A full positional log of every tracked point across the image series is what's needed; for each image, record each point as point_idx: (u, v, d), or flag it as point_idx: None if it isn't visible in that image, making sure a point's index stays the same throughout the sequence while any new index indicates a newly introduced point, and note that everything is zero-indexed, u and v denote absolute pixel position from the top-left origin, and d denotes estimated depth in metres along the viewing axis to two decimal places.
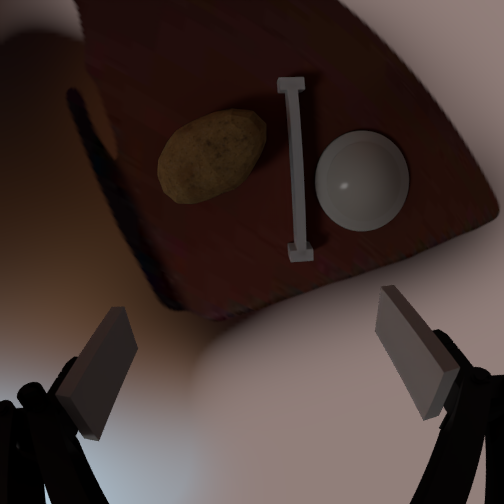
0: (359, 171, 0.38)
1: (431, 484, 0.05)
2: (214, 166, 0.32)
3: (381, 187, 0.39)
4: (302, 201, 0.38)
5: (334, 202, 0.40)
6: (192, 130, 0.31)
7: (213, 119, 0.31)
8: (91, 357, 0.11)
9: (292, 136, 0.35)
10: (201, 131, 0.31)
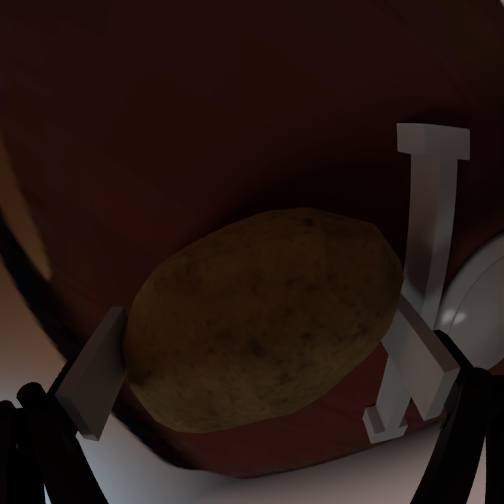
0: (497, 302, 0.18)
1: (431, 484, 0.05)
2: (272, 400, 0.11)
3: None
4: None
5: None
6: (200, 296, 0.11)
7: (268, 267, 0.10)
8: (91, 357, 0.11)
9: (431, 269, 0.14)
10: (230, 307, 0.11)
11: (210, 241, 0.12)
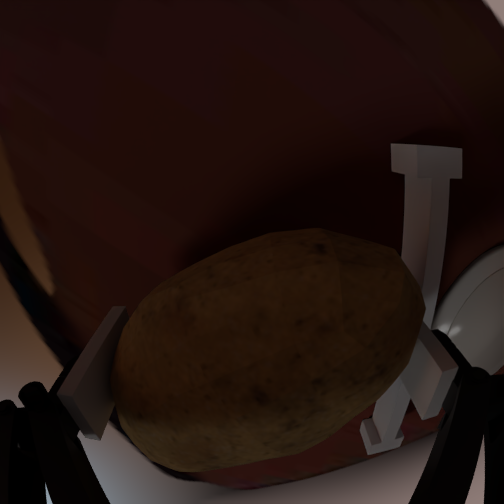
0: (491, 315, 0.18)
1: (430, 484, 0.05)
2: (277, 445, 0.09)
3: None
4: None
5: None
6: (194, 336, 0.09)
7: (274, 305, 0.09)
8: (92, 356, 0.11)
9: (424, 285, 0.15)
10: (229, 351, 0.09)
11: (205, 270, 0.10)
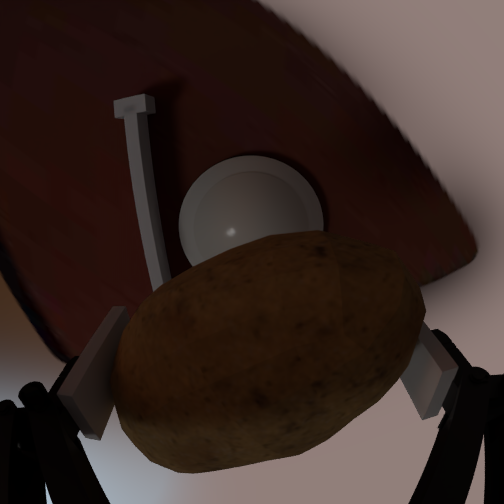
0: (240, 216, 0.29)
1: (430, 484, 0.05)
2: (277, 447, 0.09)
3: None
4: (155, 263, 0.28)
5: (207, 259, 0.30)
6: (194, 339, 0.09)
7: (274, 308, 0.09)
8: (92, 356, 0.11)
9: (132, 179, 0.25)
10: (229, 354, 0.09)
11: (205, 272, 0.10)
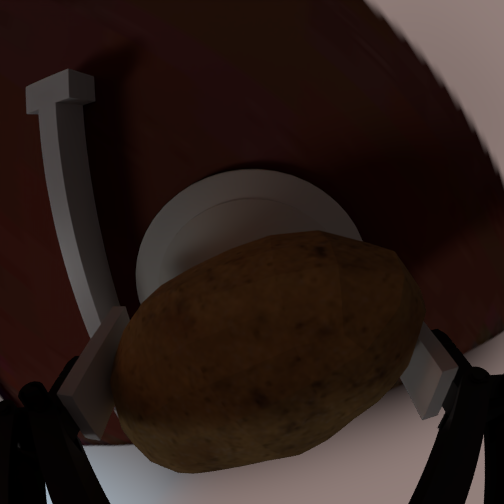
0: None
1: (430, 484, 0.05)
2: (277, 447, 0.09)
3: None
4: None
5: None
6: (194, 339, 0.09)
7: (274, 308, 0.09)
8: (93, 356, 0.11)
9: (54, 215, 0.14)
10: (229, 354, 0.09)
11: (205, 273, 0.10)
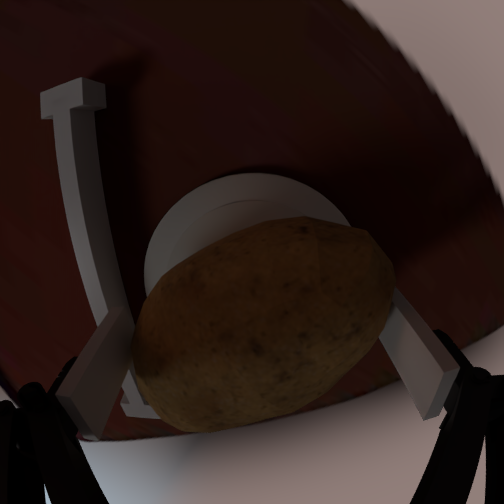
0: None
1: (431, 484, 0.05)
2: (272, 398, 0.12)
3: None
4: None
5: None
6: (204, 299, 0.12)
7: (266, 272, 0.11)
8: (91, 357, 0.11)
9: (67, 214, 0.15)
10: (231, 309, 0.11)
11: (213, 249, 0.13)
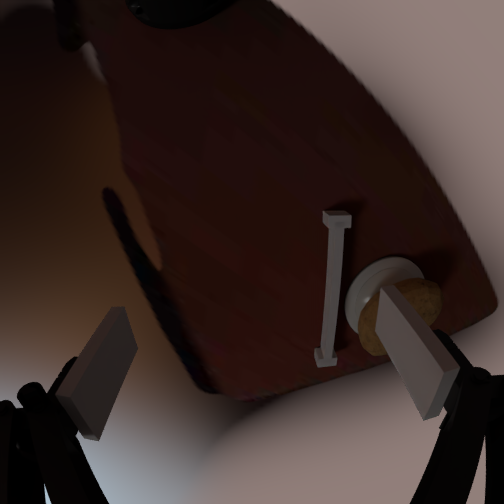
0: None
1: (431, 484, 0.05)
2: None
3: None
4: (334, 323, 0.42)
5: None
6: None
7: (416, 296, 0.36)
8: (91, 357, 0.11)
9: (333, 271, 0.40)
10: None
11: None
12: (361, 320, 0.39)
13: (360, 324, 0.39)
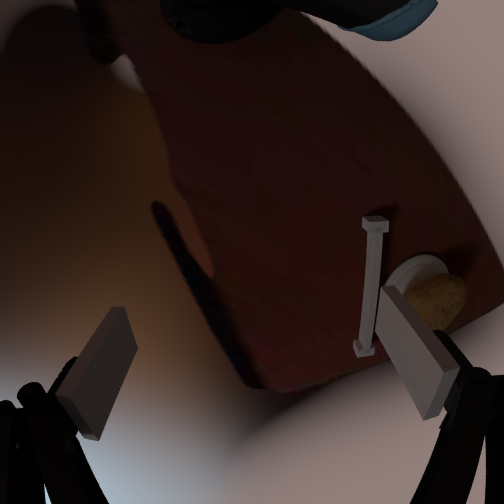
0: None
1: (431, 484, 0.05)
2: (442, 324, 0.39)
3: None
4: (373, 317, 0.45)
5: None
6: (431, 298, 0.39)
7: (445, 290, 0.39)
8: (91, 357, 0.11)
9: (373, 271, 0.42)
10: (438, 300, 0.39)
11: (428, 284, 0.41)
12: None
13: None
